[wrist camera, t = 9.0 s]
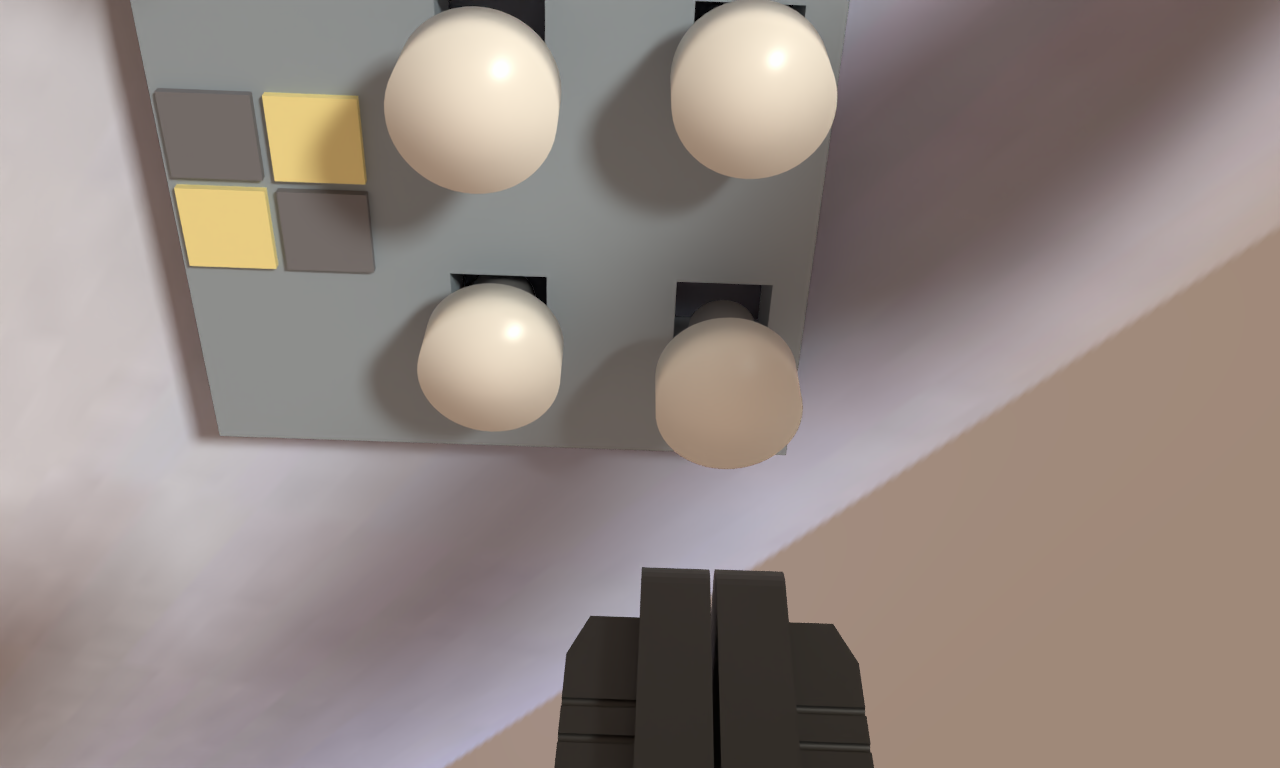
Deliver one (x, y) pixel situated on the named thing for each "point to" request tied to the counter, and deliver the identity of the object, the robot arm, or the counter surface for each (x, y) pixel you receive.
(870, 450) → the counter surface
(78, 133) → the counter surface
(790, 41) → the button
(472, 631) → the counter surface
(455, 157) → the button
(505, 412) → the button
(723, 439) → the button
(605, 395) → the board
